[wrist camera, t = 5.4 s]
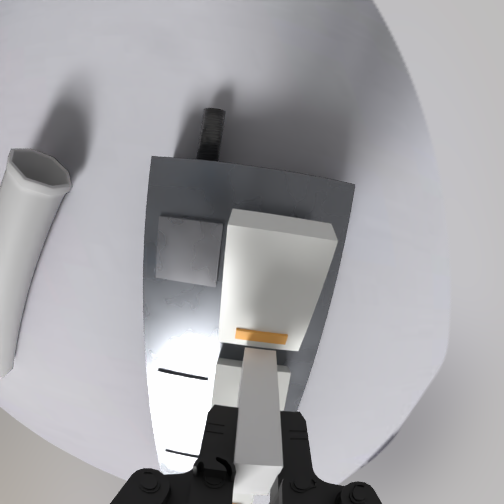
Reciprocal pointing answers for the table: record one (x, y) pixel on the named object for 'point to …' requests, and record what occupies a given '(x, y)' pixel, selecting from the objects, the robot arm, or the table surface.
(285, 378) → the block
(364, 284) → the table surface
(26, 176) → the tube
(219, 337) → the block
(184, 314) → the power strip
